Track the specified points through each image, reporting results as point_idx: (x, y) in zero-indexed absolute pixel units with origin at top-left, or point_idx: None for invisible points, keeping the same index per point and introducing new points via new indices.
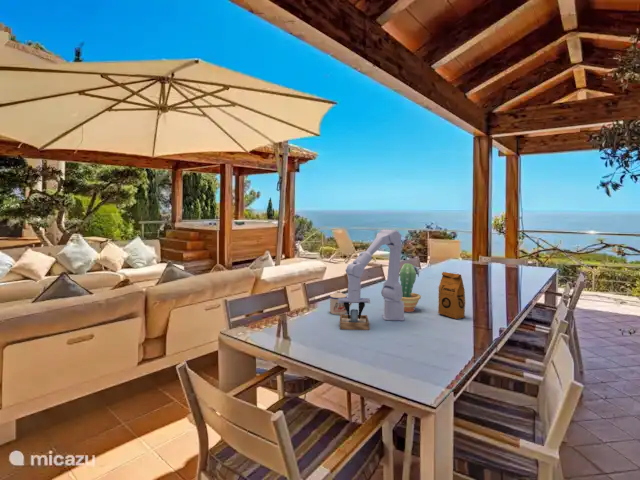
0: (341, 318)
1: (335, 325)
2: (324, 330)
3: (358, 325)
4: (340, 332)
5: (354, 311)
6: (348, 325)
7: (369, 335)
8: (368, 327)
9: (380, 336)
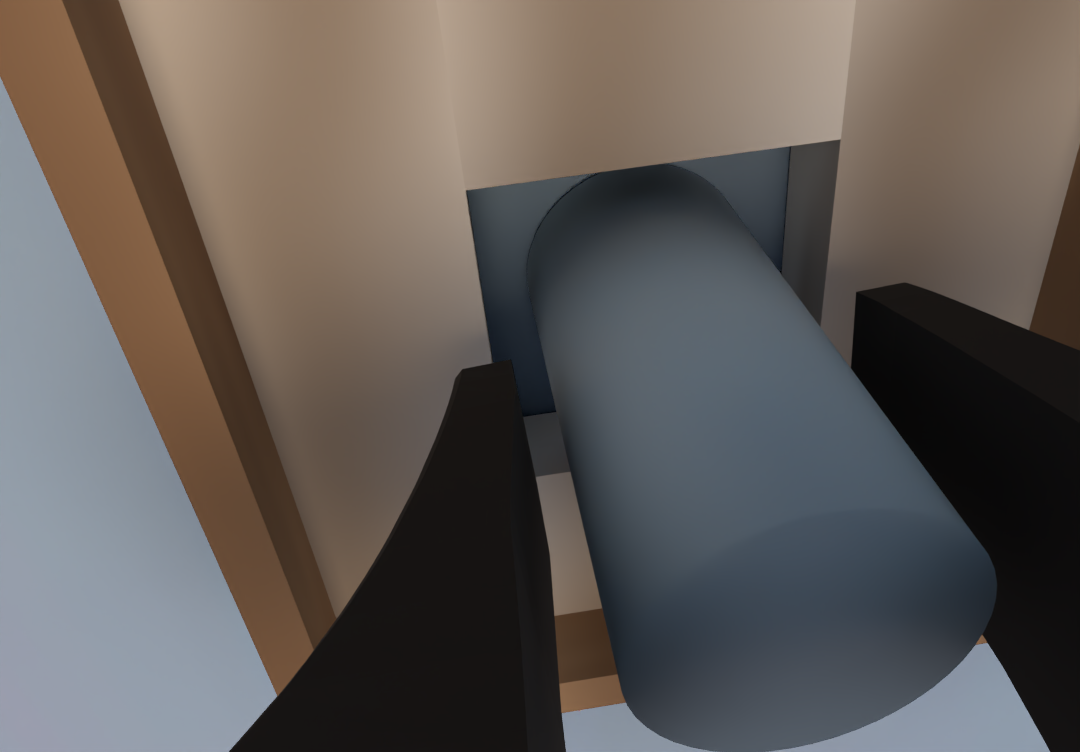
0: (221, 434)
1: (107, 398)
2: (14, 726)
3: None
4: None
5: (797, 742)
6: None
7: (887, 725)
8: None
9: None
